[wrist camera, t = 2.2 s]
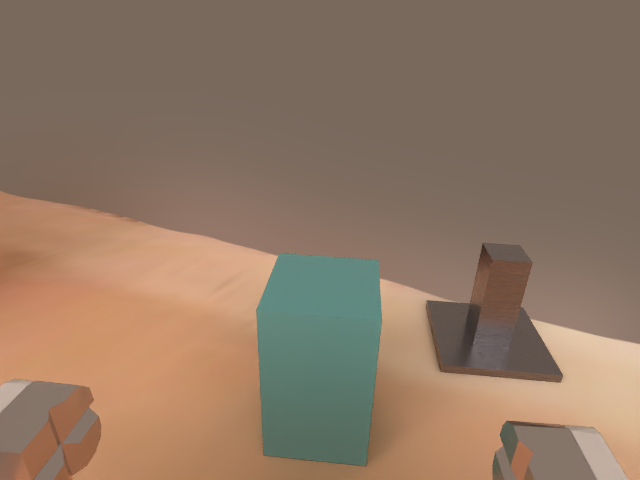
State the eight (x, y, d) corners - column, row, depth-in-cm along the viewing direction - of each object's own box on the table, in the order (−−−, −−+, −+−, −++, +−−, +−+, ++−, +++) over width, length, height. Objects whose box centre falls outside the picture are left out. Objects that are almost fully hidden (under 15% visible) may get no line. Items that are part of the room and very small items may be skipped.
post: (441, 371, 29) (459, 277, 26) (426, 306, 36) (439, 225, 33) (560, 382, 29) (594, 286, 25) (521, 313, 36) (544, 232, 32)
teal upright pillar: (263, 455, 23) (256, 310, 19) (281, 380, 28) (279, 253, 24) (366, 466, 23) (381, 320, 18) (366, 388, 28) (378, 260, 23)
